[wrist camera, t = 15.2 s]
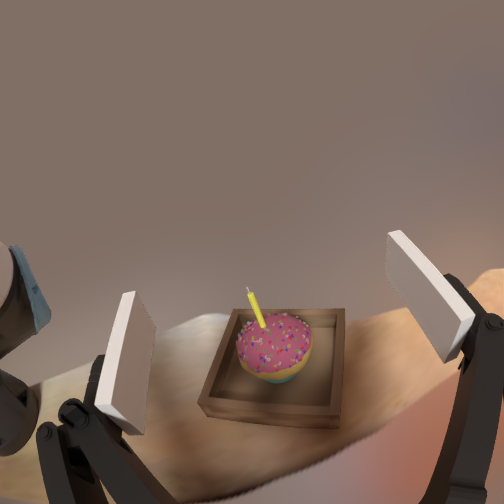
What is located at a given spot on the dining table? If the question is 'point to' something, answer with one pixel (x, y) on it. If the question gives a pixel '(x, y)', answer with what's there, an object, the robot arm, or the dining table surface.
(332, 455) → the dining table surface
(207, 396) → the tray
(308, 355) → the cupcake
